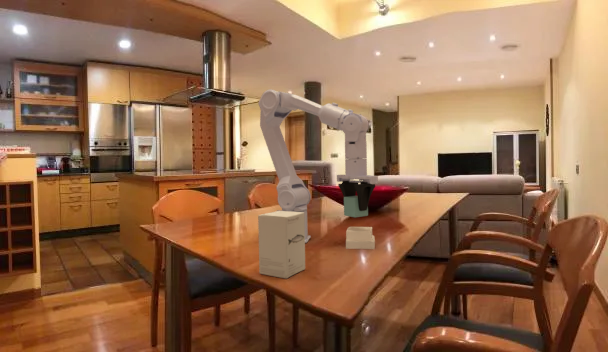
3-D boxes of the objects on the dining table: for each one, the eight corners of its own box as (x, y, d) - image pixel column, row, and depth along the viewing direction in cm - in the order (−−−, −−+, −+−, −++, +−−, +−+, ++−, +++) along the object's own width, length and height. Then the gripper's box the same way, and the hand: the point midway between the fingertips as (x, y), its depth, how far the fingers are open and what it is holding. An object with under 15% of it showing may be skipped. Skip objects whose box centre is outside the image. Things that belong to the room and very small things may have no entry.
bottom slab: (345, 250, 99) (345, 241, 99) (347, 243, 107) (347, 235, 106) (374, 251, 98) (374, 241, 98) (374, 244, 105) (374, 235, 105)
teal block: (344, 215, 102) (343, 196, 101) (356, 213, 104) (356, 195, 104) (355, 217, 98) (354, 198, 98) (367, 215, 100) (367, 196, 100)
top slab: (346, 240, 100) (346, 231, 99) (348, 235, 106) (348, 226, 106) (371, 241, 98) (371, 231, 98) (372, 235, 104) (372, 227, 104)
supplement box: (287, 279, 75) (285, 216, 74) (258, 274, 79) (256, 214, 78) (306, 269, 81) (305, 211, 81) (278, 265, 85) (277, 209, 85)
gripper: (327, 159, 104) (328, 208, 105) (362, 159, 92) (363, 214, 93) (347, 159, 108) (348, 205, 109) (383, 158, 96) (384, 211, 97)
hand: (356, 209), depth 101 cm, fingers closed on teal block, 4 cm apart
